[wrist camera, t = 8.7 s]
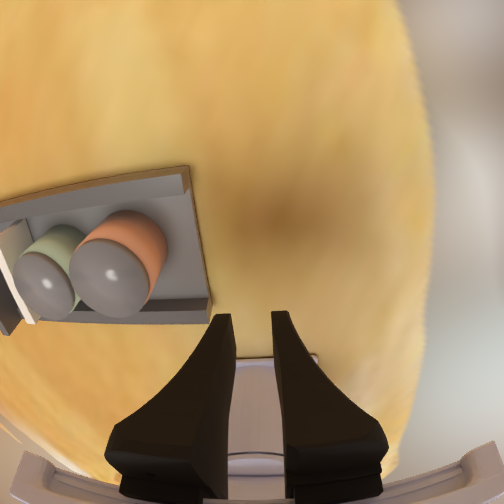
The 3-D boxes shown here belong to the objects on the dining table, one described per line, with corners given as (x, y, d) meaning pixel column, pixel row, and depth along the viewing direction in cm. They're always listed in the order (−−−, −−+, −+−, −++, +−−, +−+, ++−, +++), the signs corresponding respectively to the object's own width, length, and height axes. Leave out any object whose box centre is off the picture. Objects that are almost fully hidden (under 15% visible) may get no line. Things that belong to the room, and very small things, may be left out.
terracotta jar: (92, 209, 19) (58, 239, 15) (165, 210, 19) (142, 244, 15) (104, 275, 21) (79, 313, 17) (170, 281, 21) (154, 323, 17)
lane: (188, 165, 18) (169, 187, 14) (212, 305, 23) (204, 348, 19) (-15, 206, 19) (-47, 228, 15) (25, 305, 24) (3, 334, 20)
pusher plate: (25, 218, 19) (-3, 240, 16) (55, 296, 22) (35, 324, 19) (17, 219, 19) (-11, 241, 16) (47, 296, 22) (27, 323, 19)
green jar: (87, 220, 19) (54, 252, 15) (108, 284, 21) (84, 322, 18) (35, 227, 19) (1, 256, 15) (56, 285, 22) (30, 319, 18)
